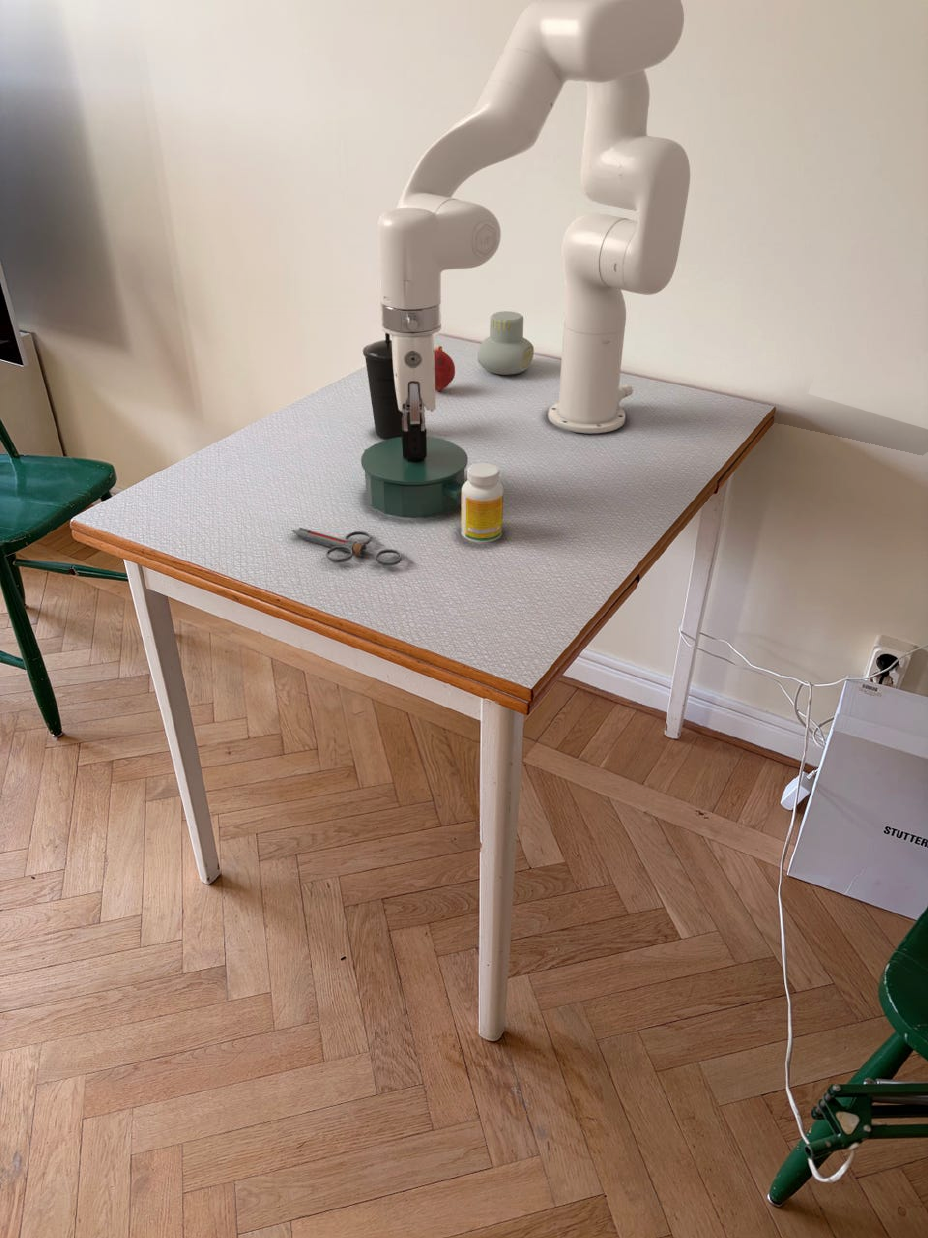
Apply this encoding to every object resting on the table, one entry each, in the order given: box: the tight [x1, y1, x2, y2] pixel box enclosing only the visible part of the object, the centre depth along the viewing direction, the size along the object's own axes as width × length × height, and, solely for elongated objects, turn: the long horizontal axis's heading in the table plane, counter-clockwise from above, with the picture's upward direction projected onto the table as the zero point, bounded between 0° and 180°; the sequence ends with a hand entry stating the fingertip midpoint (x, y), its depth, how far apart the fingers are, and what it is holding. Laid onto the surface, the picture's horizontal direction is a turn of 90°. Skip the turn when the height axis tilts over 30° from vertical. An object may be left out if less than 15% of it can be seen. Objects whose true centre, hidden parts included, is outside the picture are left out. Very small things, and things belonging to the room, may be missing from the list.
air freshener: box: [477, 311, 535, 376], centre depth 171 cm, size 11×8×10 cm
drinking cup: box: [362, 332, 403, 440], centre depth 145 cm, size 8×8×20 cm
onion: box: [434, 345, 456, 392], centre depth 163 cm, size 6×6×8 cm
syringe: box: [281, 526, 403, 567], centre depth 120 cm, size 8×18×2 cm, turn 63°
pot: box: [364, 448, 465, 519], centre depth 131 cm, size 14×19×5 cm
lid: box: [360, 414, 469, 485], centre depth 127 cm, size 15×15×7 cm
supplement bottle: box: [460, 462, 505, 543], centre depth 121 cm, size 5×5×10 cm
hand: (414, 450), depth 128 cm, fingers closed on lid, 3 cm apart
